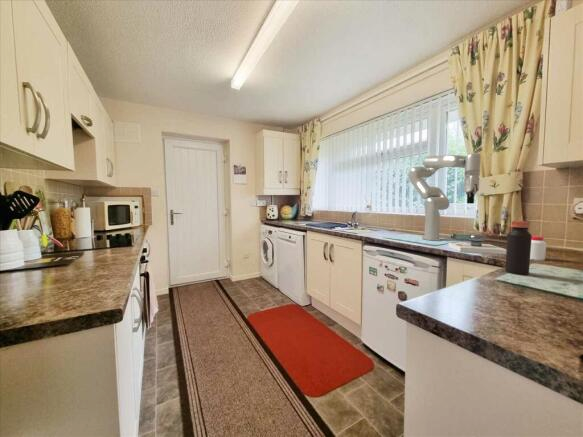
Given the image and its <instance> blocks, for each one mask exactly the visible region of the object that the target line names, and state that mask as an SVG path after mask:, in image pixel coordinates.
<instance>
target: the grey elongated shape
mask: <svg viewBox="0 0 583 437" xmlns="http://www.w3.org/2000/svg"><path fill="white" fill-rule="evenodd" d="M450 238H451V239H468V241H470V243H471V245H472V246H482V244H483V242H485V241H486V235H483V234H475V233H473V234H471V233H470V234H461V233H460V234H459V233H458V234H457V233H450Z"/></svg>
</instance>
